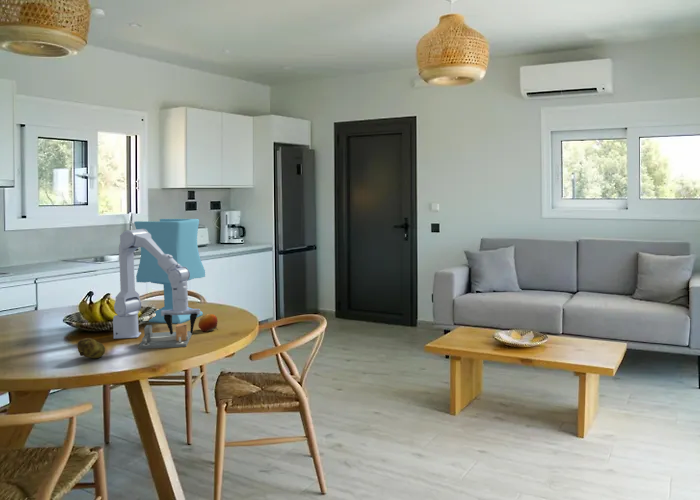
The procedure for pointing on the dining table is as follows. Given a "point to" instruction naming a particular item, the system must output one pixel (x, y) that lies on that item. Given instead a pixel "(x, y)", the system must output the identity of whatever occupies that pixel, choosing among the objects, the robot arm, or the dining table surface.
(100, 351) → the potato
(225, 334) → the dining table surface
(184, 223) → the lamp with square shade
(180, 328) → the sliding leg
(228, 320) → the dining table surface
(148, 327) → the fixed leg
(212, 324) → the fruit
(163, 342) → the board
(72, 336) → the dining table surface
